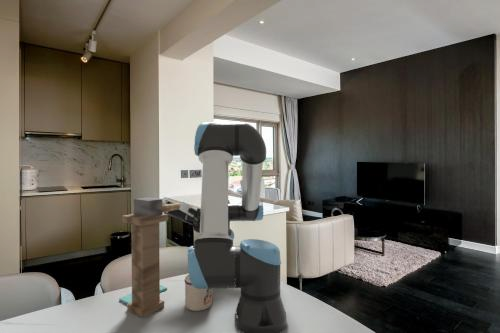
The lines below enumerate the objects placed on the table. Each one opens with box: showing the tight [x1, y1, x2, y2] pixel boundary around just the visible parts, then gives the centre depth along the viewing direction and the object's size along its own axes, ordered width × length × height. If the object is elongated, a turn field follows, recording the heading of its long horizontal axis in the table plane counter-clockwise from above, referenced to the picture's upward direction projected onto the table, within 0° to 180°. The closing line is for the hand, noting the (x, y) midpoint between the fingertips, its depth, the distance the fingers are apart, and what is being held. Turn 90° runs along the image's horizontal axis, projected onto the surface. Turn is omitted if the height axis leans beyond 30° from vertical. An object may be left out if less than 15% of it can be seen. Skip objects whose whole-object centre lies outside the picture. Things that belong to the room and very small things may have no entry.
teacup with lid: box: [184, 274, 213, 312], centre depth 99 cm, size 12×9×12 cm
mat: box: [119, 284, 168, 305], centre depth 105 cm, size 6×15×1 cm, turn 144°
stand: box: [121, 212, 169, 318], centre depth 95 cm, size 10×10×30 cm
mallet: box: [133, 196, 181, 217], centre depth 99 cm, size 15×8×5 cm, turn 144°
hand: (167, 204), depth 102 cm, fingers open, 13 cm apart
